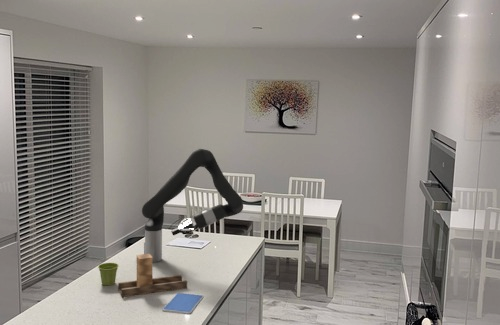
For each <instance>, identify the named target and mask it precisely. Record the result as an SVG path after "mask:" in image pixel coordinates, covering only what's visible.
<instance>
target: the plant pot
mask: <svg viewBox="0 0 500 325" xmlns="http://www.w3.org/2000/svg"><path fill="white" fill-rule="evenodd" d="M97 268H98V271H99V273H100V274H99V275H100V279H101V285H103V286H109V285H110V286H112V285H114V284H115V283H116V280H117V279H116V278H117V272H118V271H117V270H118V268H119V264H118V263H117V262H104V263H101V264H98V266H97Z"/></svg>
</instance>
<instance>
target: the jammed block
mask: <svg viewBox="0 0 500 325" xmlns="http://www.w3.org/2000/svg"><path fill="white" fill-rule="evenodd" d="M152 278H153V262H152V256H151V255H150V254H144V253H143V254H136V280H137V287H139V286H146V285H152Z"/></svg>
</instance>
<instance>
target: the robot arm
mask: <svg viewBox="0 0 500 325" xmlns="http://www.w3.org/2000/svg"><path fill="white" fill-rule="evenodd" d="M199 168H205V169H206V170H207V171H208V173H209V174H210V176H211V178H212V183H213V186H214V187H215V189H216V191H217V193H218V194H219V195H220V196H221V198H223V199H224V200H225V201H226V204H217V205H215V206H212V207H210V208H207V209H204V210H203V211H200V212H198V213H195V214H193V217H190V218H188V217H184V218H183V219H182V220H181V221H180V222H179V224H178V227H175V228H174V229H172V230H171V231H170V232H171V234H172V236H176V235H178V234H180V233H181V234H182V235H194V231H196V230H198V229H199V230H201V229H204V228H206V227H208V226H211V225H213V224H215V223H216V222H218V221H220V220H222V219H224V218H228V217H234V216H236V215H238V214H241V212H242V211H243V209H244V201H243V199H242V197H241V196H240V195H239V194H238V192H237V191H236V190H235V189H234V187H233V186H232V185H231V183H230V181H228V179H227V178H226V177H225V175H224V173H223V172H222V169H221V168H220V166H219V164H218V162H217V160H216V157H215V156H214V154H213V153H212V151H211V150H209V149H204V148H197V149H194V151H192V153H191V154H190V155H189V156H188V157H187V159H186V160H185V161H184V163H183V164H182V165H181V166H180V167H179V168H178V169H177V170H176V172H175V173H174V174H173V175H172V176H171V177H170V178H169V179H168V180H166V182H165V183H164V184H163V185H162V187H160V189H159V190H158V191H157V193H155V195H153V196H152V197H151V198H150V199H149V200H147V201H146V202H144V204H143V206H142V208H141V213H142V216H143V217H144V218H146V219H147V221H146V223H145V225H144V242H143V254H150V255H151V256H152V263H157V262H160V261H162V259H163V224H164V222H165V221H164V218H165V215H164V214H165V205H166V204H167V203H168V202H170V201H171V200H173V199H174V198H176V197H177V196H179V195H180V193H182V192H183V191H184V190H185V188H186V187H187V186H188V184H189V181H190V178H191V176H192V174H193V173H194V172H195V171H196V170H198V169H199Z"/></svg>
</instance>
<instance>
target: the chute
mask: <svg viewBox="0 0 500 325" xmlns="http://www.w3.org/2000/svg"><path fill="white" fill-rule="evenodd" d="M117 285H118V292H119V295H120V296H121V298H122V299H123V298H129V297H136V296H137V297H138V296H144V295H151V294H157V293H166V292H172V291H177V290H178V291H180V290H187V289H188V280H186V279H185V280H183V274H177V275H176V274H175V275H168V276H167V275H166V276H161V277H159V276H158V277H154V278H153V277H152V285H146V286H139V287H137V279H136V280H129V281H122V282H118V284H117Z"/></svg>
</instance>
